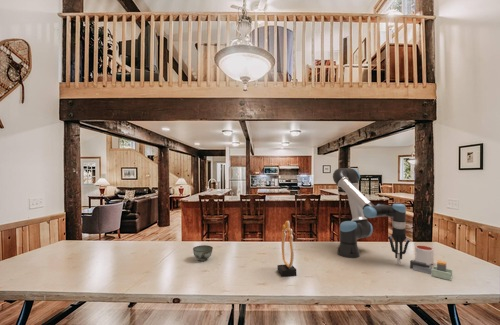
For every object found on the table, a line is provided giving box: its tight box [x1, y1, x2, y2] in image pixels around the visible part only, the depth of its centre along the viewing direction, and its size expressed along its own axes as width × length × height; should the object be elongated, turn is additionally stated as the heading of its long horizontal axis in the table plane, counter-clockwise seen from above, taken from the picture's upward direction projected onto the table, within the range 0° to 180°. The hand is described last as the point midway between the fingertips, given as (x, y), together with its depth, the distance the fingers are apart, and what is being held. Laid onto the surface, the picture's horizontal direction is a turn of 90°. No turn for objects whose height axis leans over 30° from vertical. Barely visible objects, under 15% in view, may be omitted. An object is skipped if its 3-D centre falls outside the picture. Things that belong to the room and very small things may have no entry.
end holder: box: [431, 265, 453, 282], centre depth 152 cm, size 9×8×4 cm
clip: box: [412, 265, 434, 275], centre depth 161 cm, size 9×7×3 cm
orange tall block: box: [436, 260, 447, 272], centre depth 152 cm, size 4×4×8 cm
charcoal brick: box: [409, 259, 426, 270], centre depth 163 cm, size 8×3×4 cm, turn 48°
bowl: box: [192, 244, 214, 262], centre depth 179 cm, size 14×14×8 cm
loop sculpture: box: [277, 220, 297, 278], centre depth 156 cm, size 17×9×32 cm, turn 12°
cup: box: [414, 245, 434, 266], centre depth 174 cm, size 10×10×10 cm
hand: (398, 263), depth 170 cm, fingers closed
